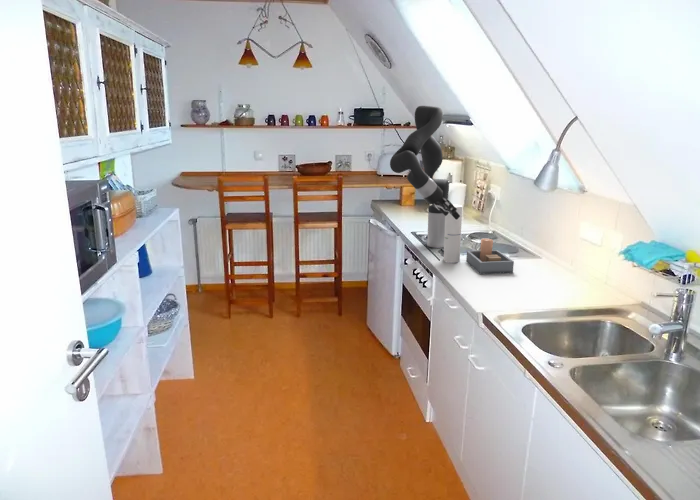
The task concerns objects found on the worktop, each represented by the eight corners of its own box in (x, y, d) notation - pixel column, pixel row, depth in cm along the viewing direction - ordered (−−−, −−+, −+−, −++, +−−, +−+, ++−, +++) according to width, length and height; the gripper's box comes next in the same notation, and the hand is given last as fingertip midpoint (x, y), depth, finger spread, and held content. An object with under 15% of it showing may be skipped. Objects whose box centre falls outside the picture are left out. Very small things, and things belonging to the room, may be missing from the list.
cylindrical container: (455, 263, 218) (457, 207, 211) (440, 261, 222) (442, 206, 215) (462, 259, 223) (465, 205, 217) (447, 257, 227) (450, 203, 221)
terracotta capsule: (477, 260, 218) (479, 238, 216) (489, 260, 218) (491, 238, 216) (481, 263, 213) (483, 241, 211) (492, 263, 213) (494, 241, 211)
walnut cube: (484, 266, 210) (485, 254, 209) (495, 265, 211) (496, 254, 209) (488, 269, 206) (489, 258, 204) (500, 269, 206) (501, 257, 205)
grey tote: (466, 261, 220) (466, 250, 219) (496, 260, 221) (497, 249, 220) (479, 274, 203) (480, 262, 202) (512, 273, 204) (513, 261, 203)
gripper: (444, 185, 191) (468, 212, 198) (426, 180, 204) (449, 206, 211) (431, 199, 191) (455, 226, 197) (414, 194, 204) (437, 219, 210)
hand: (452, 216), depth 204 cm, fingers open, 8 cm apart
